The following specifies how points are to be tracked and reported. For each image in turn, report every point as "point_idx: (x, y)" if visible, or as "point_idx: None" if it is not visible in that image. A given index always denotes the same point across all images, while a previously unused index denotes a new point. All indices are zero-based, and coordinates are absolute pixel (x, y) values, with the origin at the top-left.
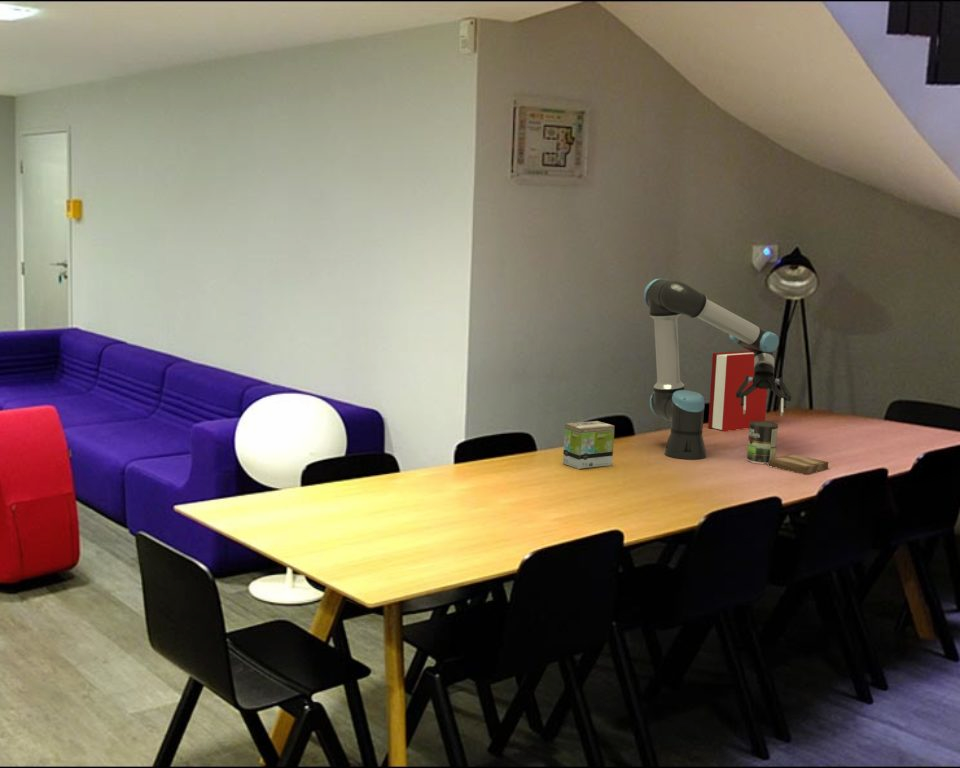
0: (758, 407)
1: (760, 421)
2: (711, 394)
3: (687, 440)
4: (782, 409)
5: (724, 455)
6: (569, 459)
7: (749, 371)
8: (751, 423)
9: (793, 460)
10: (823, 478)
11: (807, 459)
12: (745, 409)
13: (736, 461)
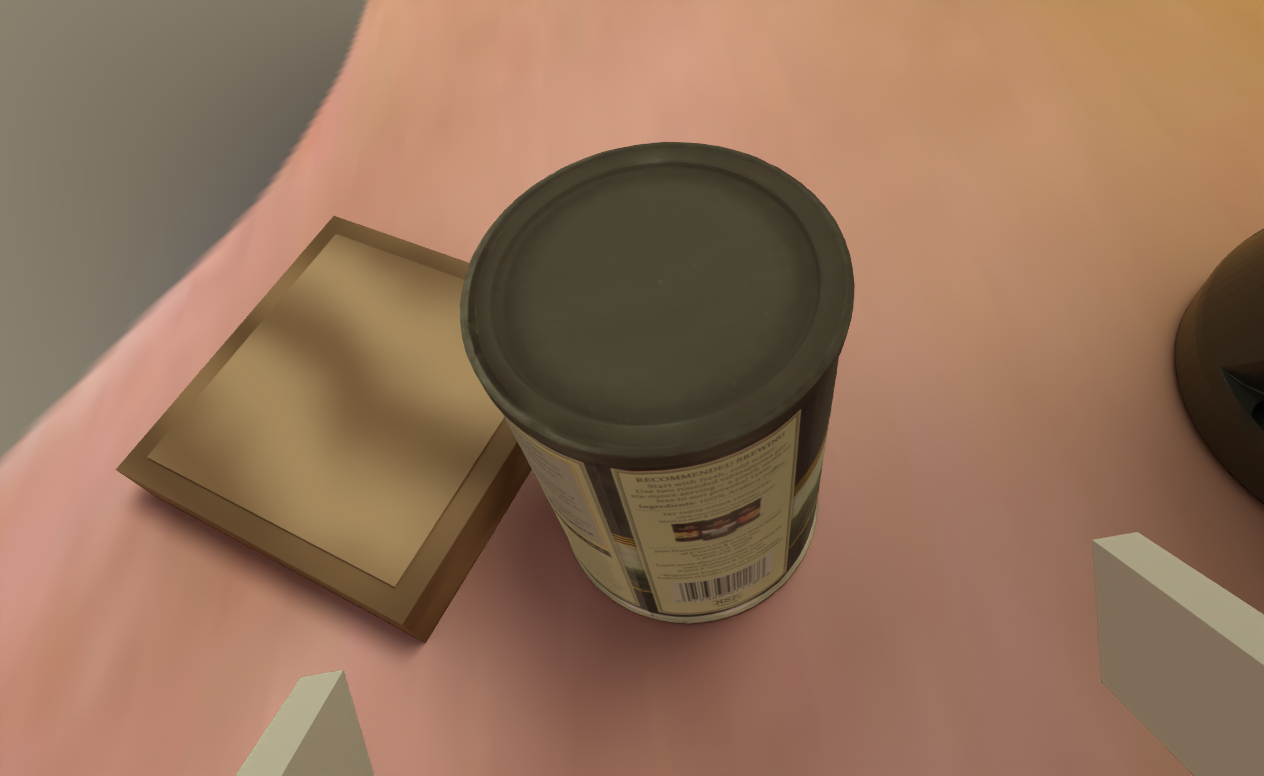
0: None
1: (719, 409)
2: None
3: None
4: (288, 718)
5: (1065, 571)
6: None
7: None
8: (806, 212)
9: (403, 362)
10: (256, 218)
11: (280, 455)
12: (1104, 544)
13: (879, 386)
